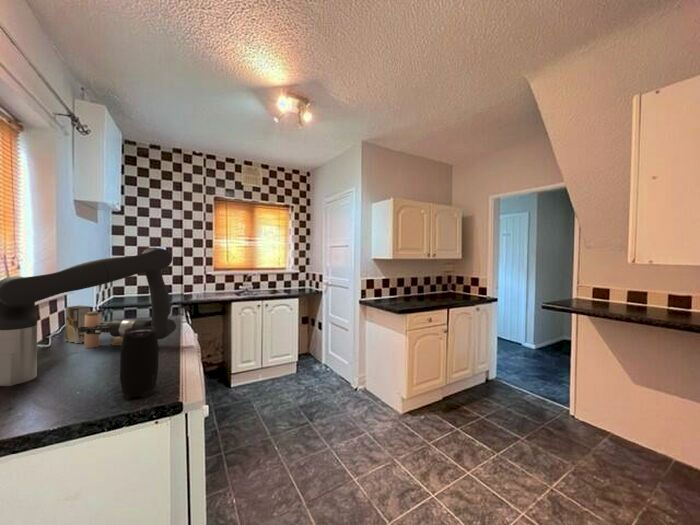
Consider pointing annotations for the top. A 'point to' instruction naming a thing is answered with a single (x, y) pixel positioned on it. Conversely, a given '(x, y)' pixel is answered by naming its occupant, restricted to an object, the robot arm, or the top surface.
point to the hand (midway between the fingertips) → (87, 327)
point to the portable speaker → (139, 362)
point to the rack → (117, 341)
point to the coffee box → (75, 323)
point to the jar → (91, 321)
